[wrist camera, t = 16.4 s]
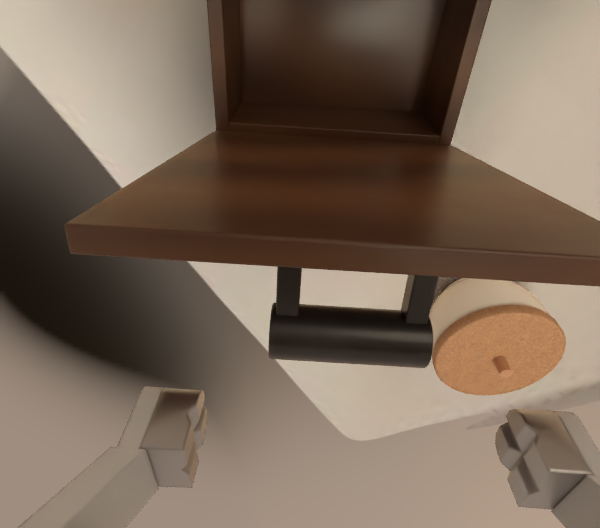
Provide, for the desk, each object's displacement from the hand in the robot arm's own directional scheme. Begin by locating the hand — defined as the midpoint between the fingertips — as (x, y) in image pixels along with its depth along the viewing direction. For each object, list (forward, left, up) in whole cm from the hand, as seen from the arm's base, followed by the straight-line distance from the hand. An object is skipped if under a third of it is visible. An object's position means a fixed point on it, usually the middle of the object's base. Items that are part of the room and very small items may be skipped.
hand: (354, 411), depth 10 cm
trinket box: (+16, +16, -25) cm, 33 cm away
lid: (-3, 0, -10) cm, 10 cm away
